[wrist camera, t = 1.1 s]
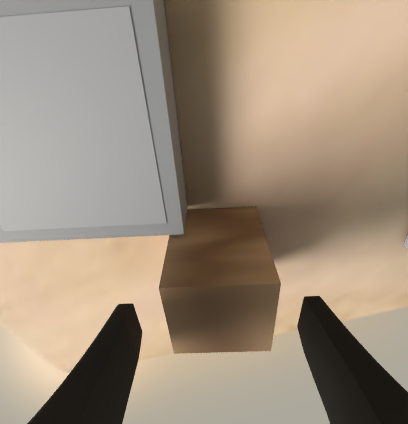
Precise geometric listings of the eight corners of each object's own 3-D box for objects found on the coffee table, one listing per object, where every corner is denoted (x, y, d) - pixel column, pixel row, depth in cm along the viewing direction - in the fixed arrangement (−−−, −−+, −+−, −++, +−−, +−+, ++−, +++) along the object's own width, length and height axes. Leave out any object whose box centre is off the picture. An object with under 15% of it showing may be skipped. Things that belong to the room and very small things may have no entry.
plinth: (162, -9, 9) (148, -29, 7) (187, 206, 14) (183, 235, 12) (-77, 11, 9) (-163, -2, 7) (28, 214, 14) (-4, 243, 12)
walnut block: (255, 206, 14) (280, 283, 9) (252, 265, 16) (270, 350, 11) (174, 210, 14) (158, 288, 9) (183, 268, 16) (174, 353, 12)
